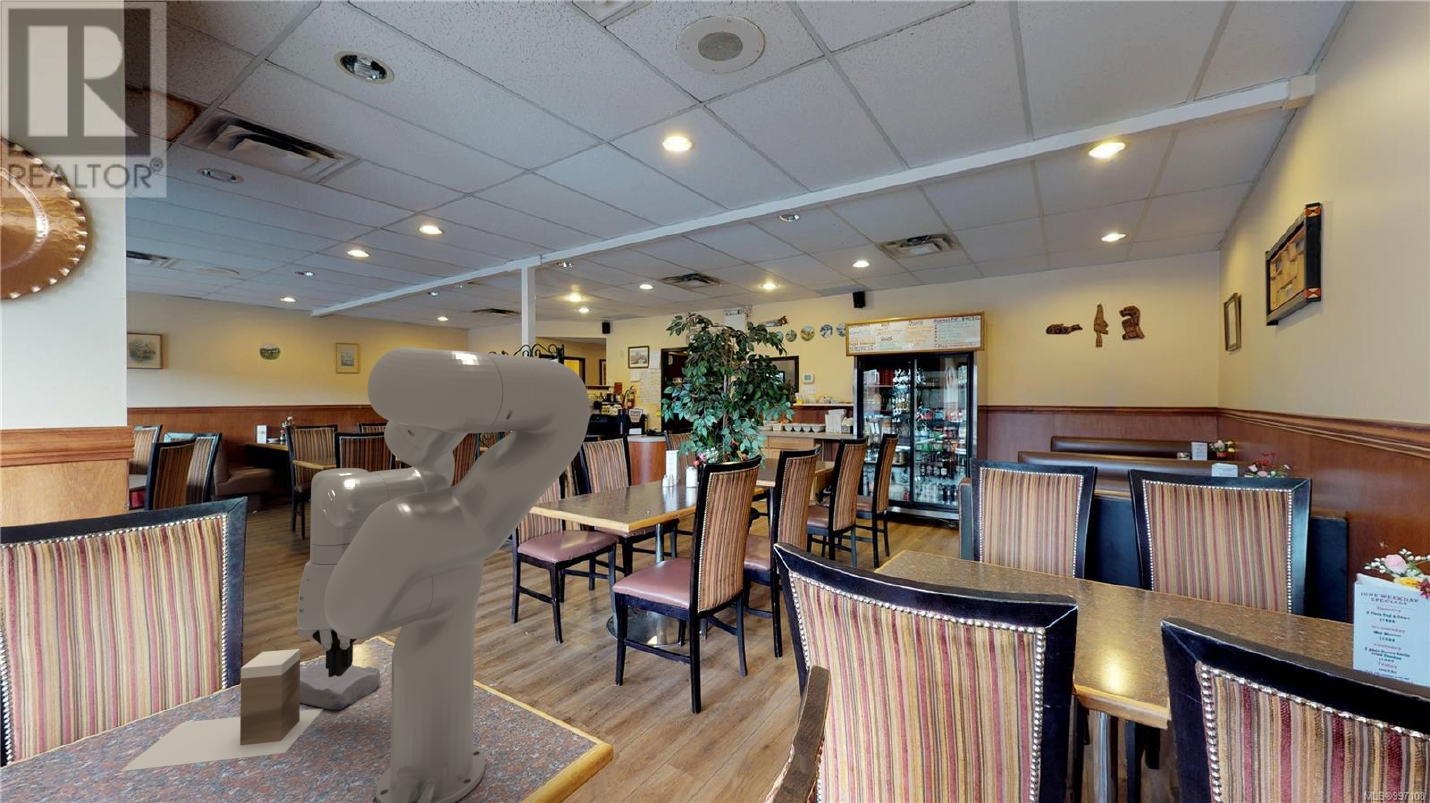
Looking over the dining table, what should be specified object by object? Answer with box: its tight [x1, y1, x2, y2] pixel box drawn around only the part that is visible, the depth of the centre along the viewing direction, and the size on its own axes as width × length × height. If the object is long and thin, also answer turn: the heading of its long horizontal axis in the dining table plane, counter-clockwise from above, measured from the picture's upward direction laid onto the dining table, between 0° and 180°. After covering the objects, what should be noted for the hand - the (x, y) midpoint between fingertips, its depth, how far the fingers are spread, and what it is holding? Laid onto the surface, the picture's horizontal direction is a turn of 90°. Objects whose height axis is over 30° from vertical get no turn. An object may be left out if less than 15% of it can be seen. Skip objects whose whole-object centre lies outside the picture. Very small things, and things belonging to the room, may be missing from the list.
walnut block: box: [239, 648, 301, 745], centre depth 79 cm, size 5×5×11 cm
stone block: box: [300, 662, 381, 711], centre depth 90 cm, size 12×5×10 cm
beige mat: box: [118, 708, 325, 773], centre depth 78 cm, size 11×19×1 cm, turn 102°
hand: (339, 671), depth 81 cm, fingers closed
